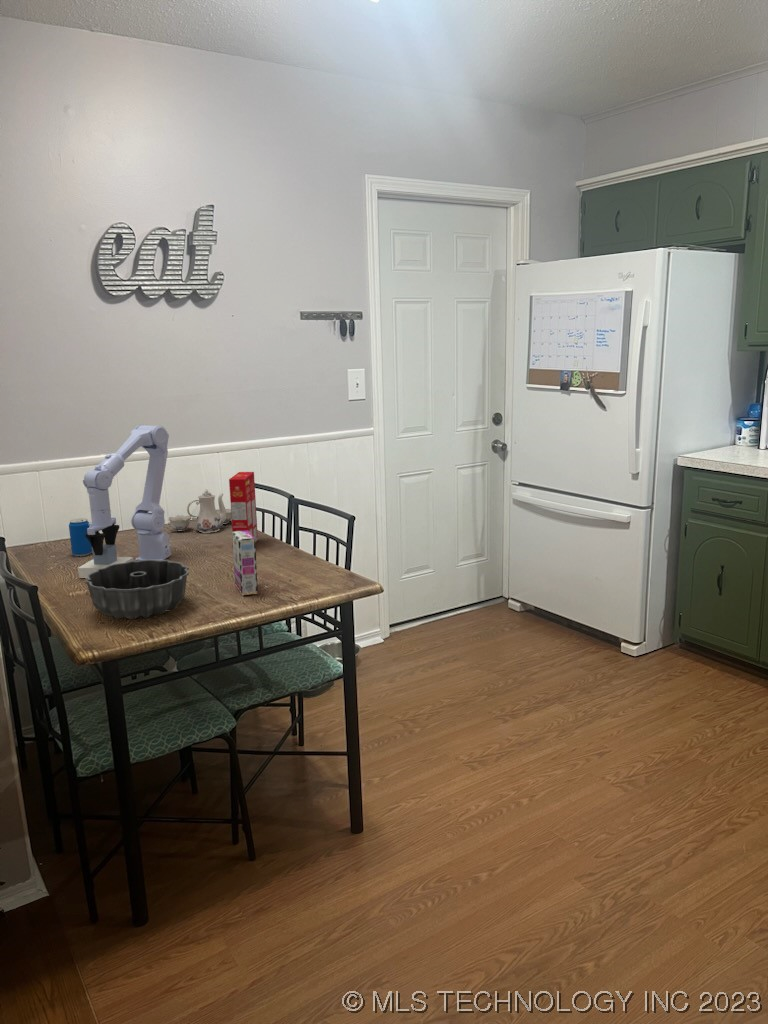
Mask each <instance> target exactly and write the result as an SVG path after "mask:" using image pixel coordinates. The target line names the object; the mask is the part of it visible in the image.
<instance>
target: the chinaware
mask: <svg viewBox="0 0 768 1024" xmlns="http://www.w3.org/2000/svg"><path fill="white" fill-rule="evenodd" d="M223 496H224V493H220V494H219V495H218V498H217V500H218V501H217V502H218V509H216V505H215V497H216V495H214V494H212V493H211V492H209V490H208V489H205V490H204V491H203V492H202V494H201V495H198V496H197V498H198V499H194V500H191V501H190V502H189V503H188V504H187V506H186V511H187V514H188V515H187V516H185V515H183V514H180V515H179V514H178V515H176V516H169V518H168V522H167V523H166V529H167V530H168V531H171V530H173V532H177V531H178V530H186V529H188V527H189V526H190V523H191V520H192V522H193V523H194V526H195V529H196V530H197V532H198V531H202V532H208V531H215V530H218V529H220V530H221V528H222V527H223V526H224V525H223V523H230V521H231V522H232V517H231V508H226V506H225V505H224V501H223ZM192 503H195V504H196V505H197V506H198V505H199V511H198V515H192V514H191V513H190V509H189V508H190V506H191V505H192ZM169 524H170V526H171V527H172V528H168V527H169V526H168V525H169Z"/></svg>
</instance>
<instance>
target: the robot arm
mask: <svg viewBox="0 0 768 1024" xmlns="http://www.w3.org/2000/svg"><path fill="white" fill-rule="evenodd" d="M169 437H170V435H169V433H168V431H167V429H166V428H165V427H164V426H163V425H147V424H146V425H144V424H138V425H136V426H135V427H134V429H132V430H131V431H130V436H129V437H128V438H127V440H125V441H124V443H122V445H121V446H120V447H119V448H118V450H117V451H116V452H115V453H109V454H108V453H107V454H105V456H104V459H102V461H100V463H99V464H96V465H95V468H94V469H91V470H88V471H87V472H86V473H85V475H84V476H83V480H82V484H83V485H84V487H85V488H86V491H87V493H88V498H89V509H90V518H91V522H89V526H90V527H89V528H87V533H86V534H85V537H86V538H87V539H88V541H89V542H90V544H91V546H92V549H93V550H92V552H93V551H94V553H95V555H103V545H104V541H105V545H116V540H117V534H118V532H119V529H120V525H119V524H117V518H116V517H112V513H111V512H112V511H111V504H110V503H111V502H110V493H109V488H110V487H111V485H112V484H113V483H112V482H113V479H114V477H116V475H117V474H118V473H119V472H120V471H121V470H122V469H124V467H125V461H126V460H127V459H128V458H129V457H130V456H131V455H133V454H134V453H135V452H136V451H137V450H138V449H139V448H142V449H144V450H145V451H146V452H147V453H148V454H149V457H148V458H149V459H148V464H147V469H146V470H147V471H146V476H145V482H144V488H143V489H144V490H143V496H142V501H141V502H140V503H139V504H138V505H137V506H135V510H134V513H133V514H132V516H131V521H130V523H131V526H132V528H133V529H135V533H137V539H138V551H139V556H138V557H136V558H135V559H134V561H141V560H160V561H161V560H167V558H169V557H170V556H172V553H171V545H170V544H171V543H170V536H169V533H168V532H164V531H163V529H164V527H165V523H166V520H165V510H164V508H163V507H162V506H161V505H160V501H161V494H162V489H163V485H164V478H165V472H166V466H167V461H168V460H167V458H168V454H169V453H168V452H169V451H168V449H169V448H168V443H169ZM100 531H101V532H100Z"/></svg>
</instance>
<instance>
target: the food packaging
mask: <svg viewBox="0 0 768 1024" xmlns="http://www.w3.org/2000/svg"><path fill="white" fill-rule="evenodd" d="M228 485H229V498H230V499H229V500H230V509H231V517H232V518H231V529H232V531H231V533H232V532H236V531H247V530H248V531H249V532H250V533H251V534H252V536H253V537H254V538H255V540H256V539H257V538H258V539H259V536H258V535H259V534H258V521H257V520H258V519H257V518H258V517H257V504H256V503H257V498H256V483H255V471H239V472H236V474H234V475H233V476H232V477H230V478H229V479H228Z"/></svg>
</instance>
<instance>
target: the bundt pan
mask: <svg viewBox="0 0 768 1024" xmlns="http://www.w3.org/2000/svg"><path fill="white" fill-rule="evenodd" d="M189 569H190V568H189V566H186V565H184V563H182V562H178V561H171V560H169V559H165V560H161V561H160V560H141V561H135V560H133V561H129V562H126V563H118V564H113V565H109V566H107V567H105V568H100V569H97V570H96V571H95V572H93V573H90V574H89V575H88V576H87V579H85V580H84V582H85V584H87V588H88V591H89V595H90V596H89V597H90V599H91V602H92V605H93V606H94V607H95V608H96V610H98V611H100V612H101V613H102V614H104V615H106V616H108V617H114V618H115V619H118V620H120V619H119V618H121V619H124V618H127V619H130V620H132V619H133V620H135V619H138V618H139V617H143V618H145V619H148V618H149V617H150V616H151V615H153V616H159V615H162V614H163V613H166V612H167V611H166V610H171V611H172V610H174V609H175V608H176V607H177V606H178V605H179V604H181V602H182V601H183V599H184V598H185V595H186V590H187V589H186V588H187V579H188V578H187V576H189V574H190V571H189ZM123 617H124V618H123Z"/></svg>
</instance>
